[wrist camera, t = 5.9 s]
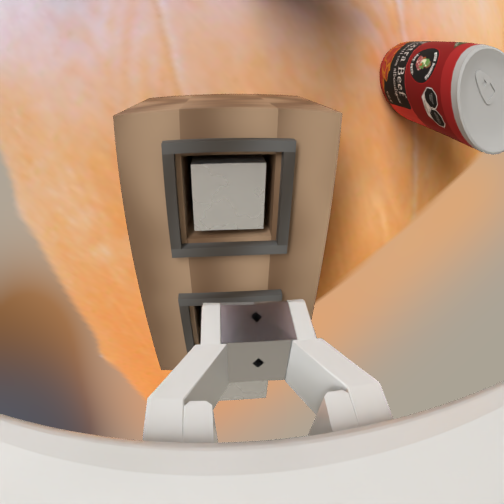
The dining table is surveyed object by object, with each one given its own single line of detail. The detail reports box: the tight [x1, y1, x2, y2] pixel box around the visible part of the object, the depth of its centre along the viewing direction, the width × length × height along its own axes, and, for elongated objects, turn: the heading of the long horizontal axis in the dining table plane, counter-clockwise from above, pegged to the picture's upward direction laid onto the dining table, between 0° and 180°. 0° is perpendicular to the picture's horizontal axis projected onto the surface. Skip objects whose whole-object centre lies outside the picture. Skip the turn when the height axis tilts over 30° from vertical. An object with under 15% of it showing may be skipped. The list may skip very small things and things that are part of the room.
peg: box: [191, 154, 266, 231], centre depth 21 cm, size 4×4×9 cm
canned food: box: [380, 41, 504, 154], centre depth 19 cm, size 8×8×11 cm
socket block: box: [113, 94, 342, 370], centre depth 24 cm, size 12×20×11 cm, turn 179°
